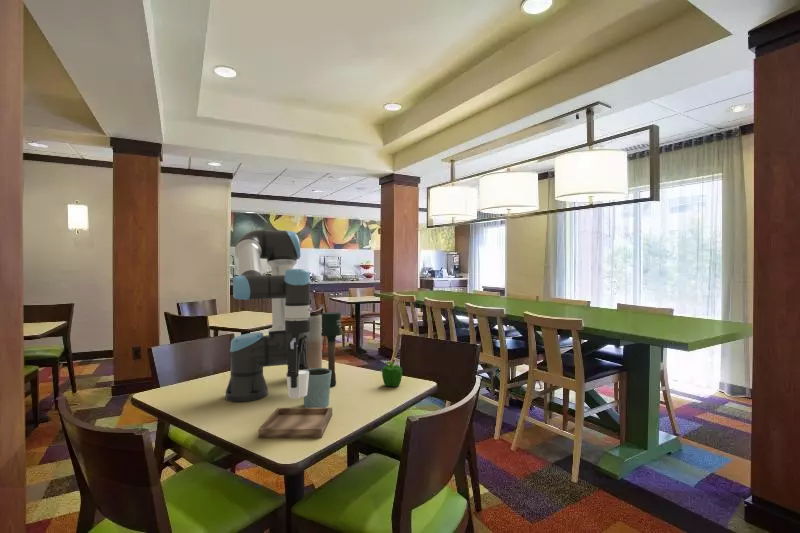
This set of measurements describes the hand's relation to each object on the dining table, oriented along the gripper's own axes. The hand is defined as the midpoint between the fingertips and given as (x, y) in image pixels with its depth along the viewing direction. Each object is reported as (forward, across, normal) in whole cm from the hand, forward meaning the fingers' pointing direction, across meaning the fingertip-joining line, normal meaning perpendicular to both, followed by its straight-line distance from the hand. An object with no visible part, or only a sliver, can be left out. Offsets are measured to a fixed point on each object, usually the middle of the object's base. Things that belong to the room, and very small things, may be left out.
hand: (298, 394), depth 125 cm
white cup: (0, 0, 0) cm, 0 cm away
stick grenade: (+10, +43, -3) cm, 44 cm away
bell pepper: (+10, +43, -28) cm, 52 cm away
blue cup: (+10, +19, -2) cm, 22 cm away
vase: (+10, +58, +9) cm, 60 cm away
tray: (+10, 0, 0) cm, 10 cm away
